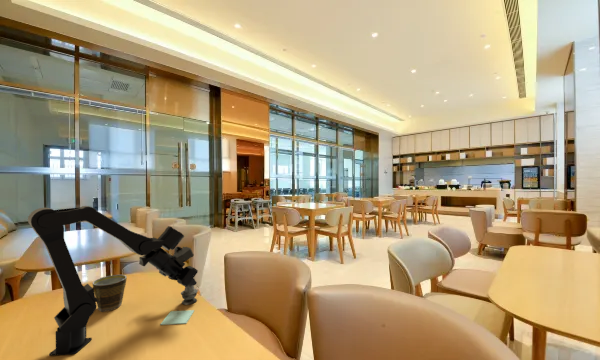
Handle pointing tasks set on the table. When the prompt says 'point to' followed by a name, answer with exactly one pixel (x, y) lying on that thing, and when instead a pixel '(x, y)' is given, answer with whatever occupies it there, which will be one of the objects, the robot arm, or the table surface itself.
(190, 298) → the grey stone tiered figure
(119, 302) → the ceramic cup
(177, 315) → the plate
